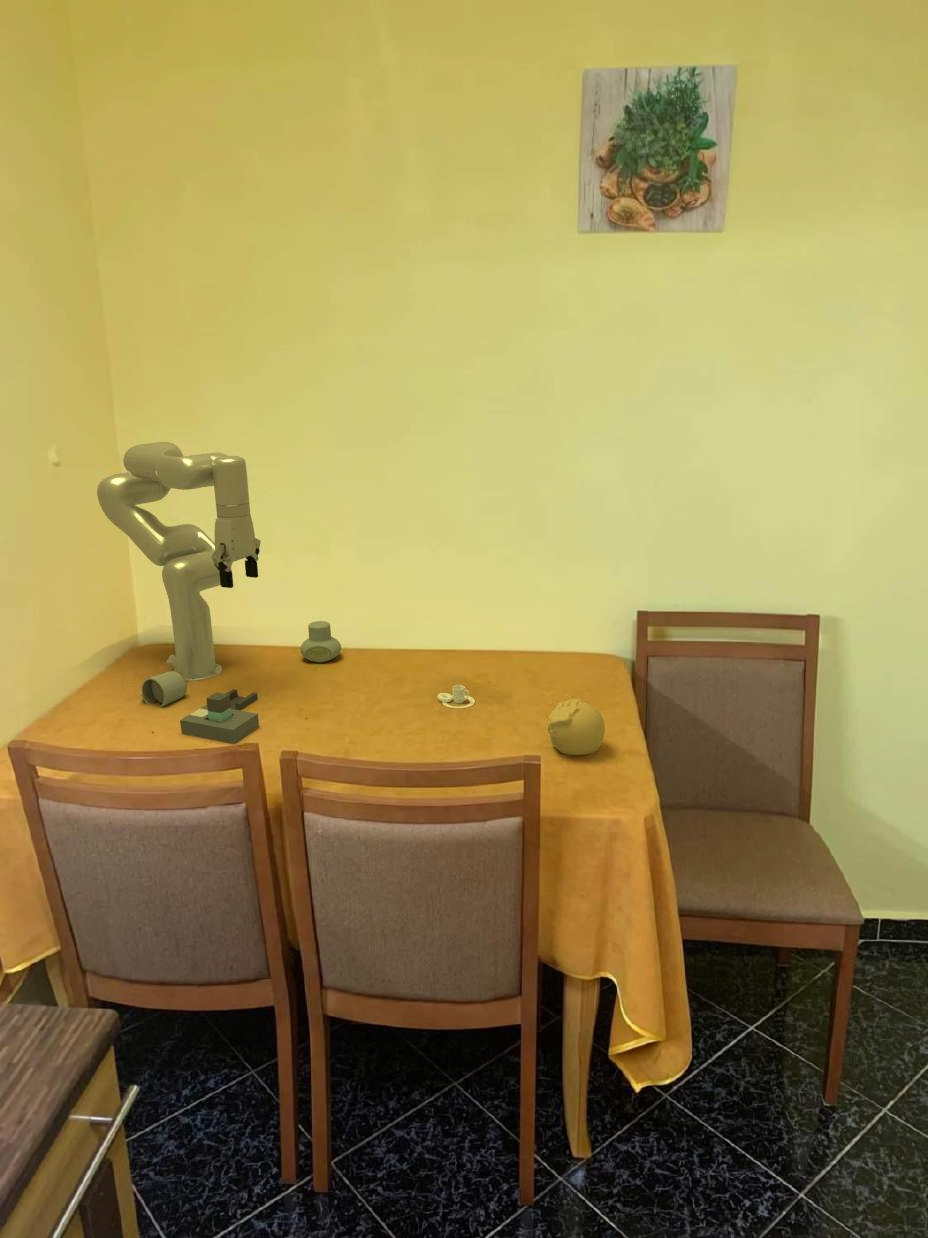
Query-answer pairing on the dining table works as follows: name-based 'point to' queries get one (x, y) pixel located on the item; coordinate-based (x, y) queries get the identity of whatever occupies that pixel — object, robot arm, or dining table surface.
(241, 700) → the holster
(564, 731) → the sculpture
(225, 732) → the port panel
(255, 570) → the robot arm
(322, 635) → the air freshener
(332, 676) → the dining table surface
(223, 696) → the plug
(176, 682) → the ceramic mug
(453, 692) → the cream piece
